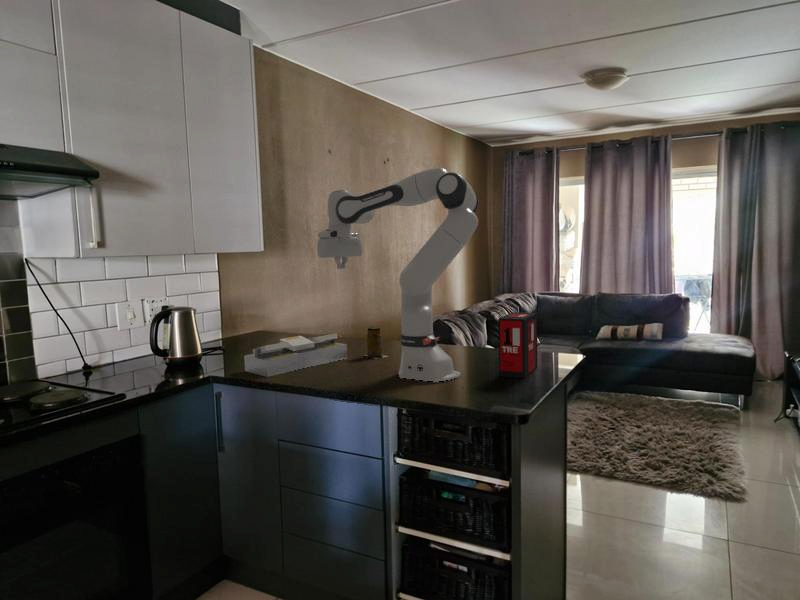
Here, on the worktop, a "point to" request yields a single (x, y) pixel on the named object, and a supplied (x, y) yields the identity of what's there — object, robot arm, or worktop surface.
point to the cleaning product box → (517, 344)
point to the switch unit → (294, 358)
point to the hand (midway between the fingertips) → (341, 268)
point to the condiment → (374, 343)
